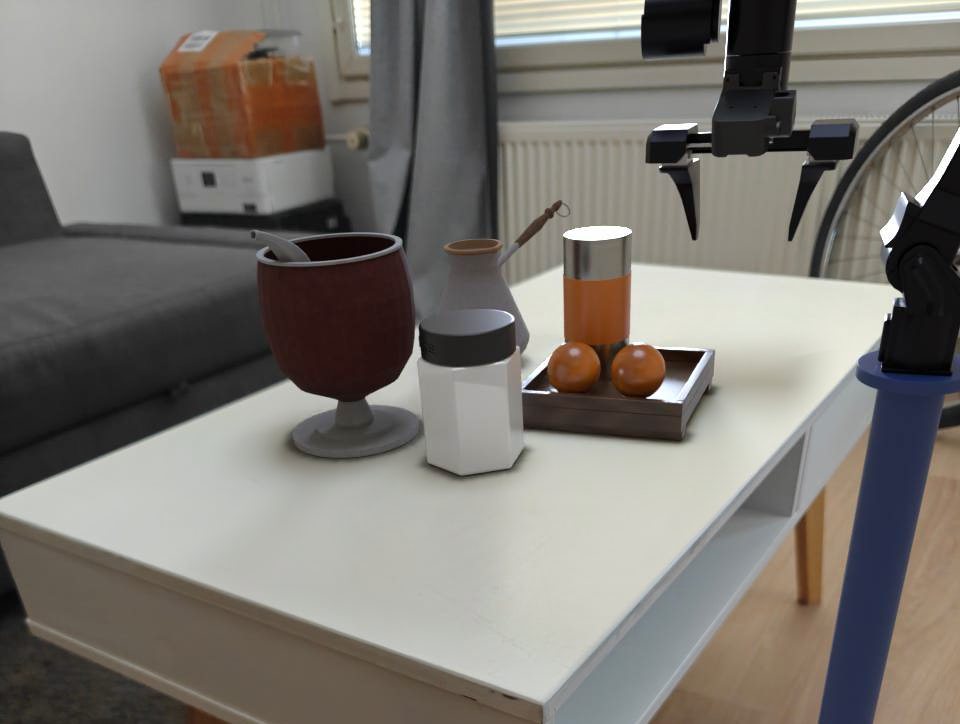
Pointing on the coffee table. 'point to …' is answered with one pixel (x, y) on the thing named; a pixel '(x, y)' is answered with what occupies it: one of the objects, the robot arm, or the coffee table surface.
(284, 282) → the mate gourd
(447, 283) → the coffee pot
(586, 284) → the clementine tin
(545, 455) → the coffee table surface
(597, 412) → the fruit tray
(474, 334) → the jar
